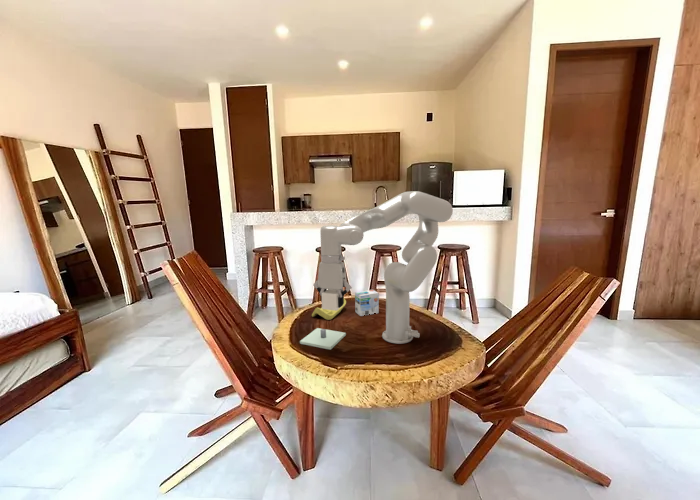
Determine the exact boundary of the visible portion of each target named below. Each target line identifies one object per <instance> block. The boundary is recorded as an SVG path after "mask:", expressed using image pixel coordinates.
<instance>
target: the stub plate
mask: <svg viewBox="0 0 700 500" xmlns="http://www.w3.org/2000/svg"><path fill="white" fill-rule="evenodd" d="M346 335H347V333H346V332H342V331H337V330H331V329H327V328H326V329H325V328H319V327H316V328H315V329H313V330H312V331H311V332H310V333H309V334H308V335H306V336H305V337H303V338H301V340H299V344H301V345H306V346H309V347H314V348H315V347H316V348H320V349H325V350H332V349H333V348H335V346H337V344H338V343H339V342H341V340H342V339H344V337H346Z"/></svg>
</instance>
